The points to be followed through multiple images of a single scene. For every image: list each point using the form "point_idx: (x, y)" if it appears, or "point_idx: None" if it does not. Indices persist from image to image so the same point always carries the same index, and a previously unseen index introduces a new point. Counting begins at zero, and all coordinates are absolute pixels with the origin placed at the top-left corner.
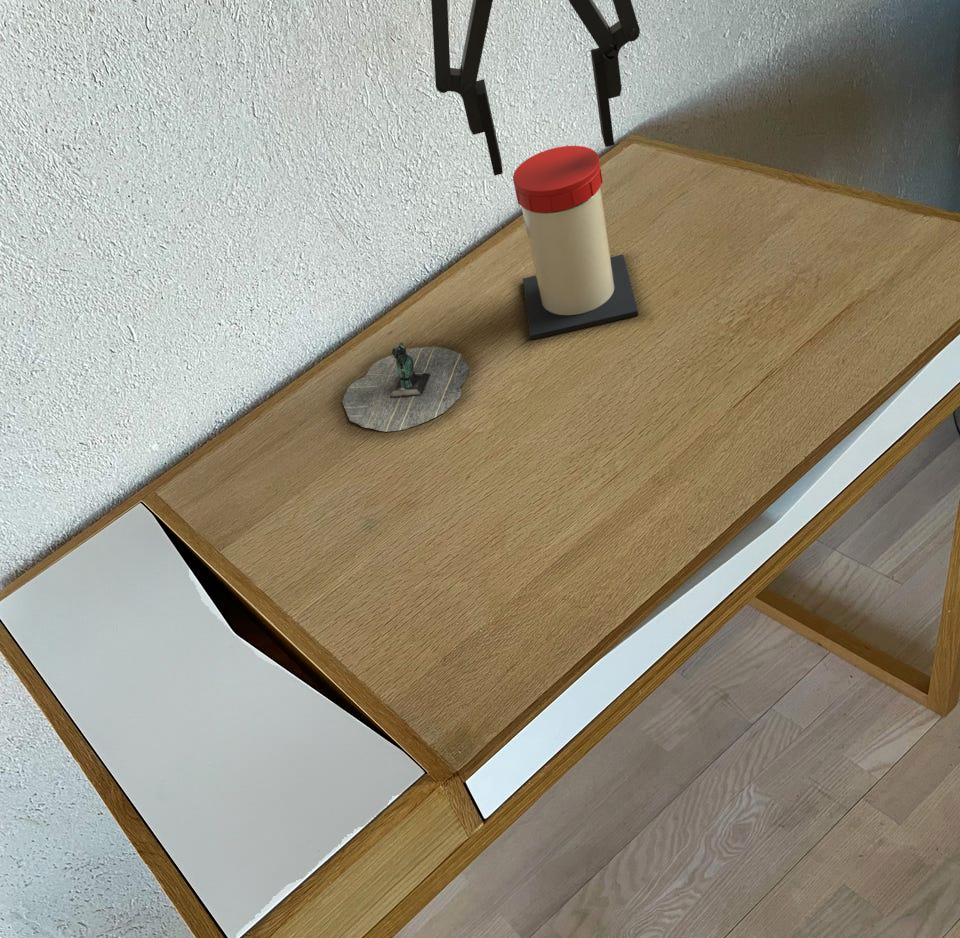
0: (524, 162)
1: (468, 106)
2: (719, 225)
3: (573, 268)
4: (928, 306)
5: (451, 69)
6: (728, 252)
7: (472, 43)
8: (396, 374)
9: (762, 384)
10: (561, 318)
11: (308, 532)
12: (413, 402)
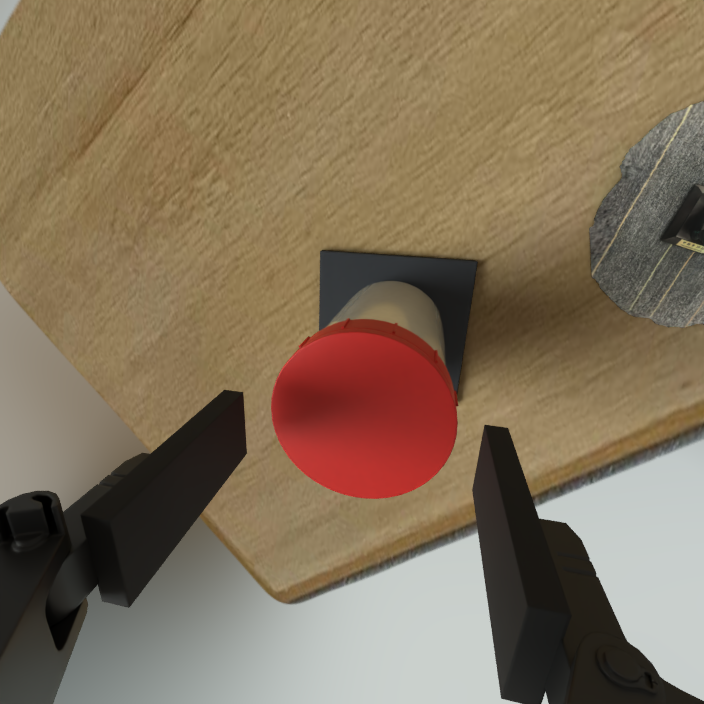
0: (418, 482)
1: (593, 604)
2: (205, 391)
3: (387, 295)
4: (5, 109)
5: None
6: (201, 333)
7: None
8: None
9: (190, 4)
10: (423, 283)
11: None
12: None
